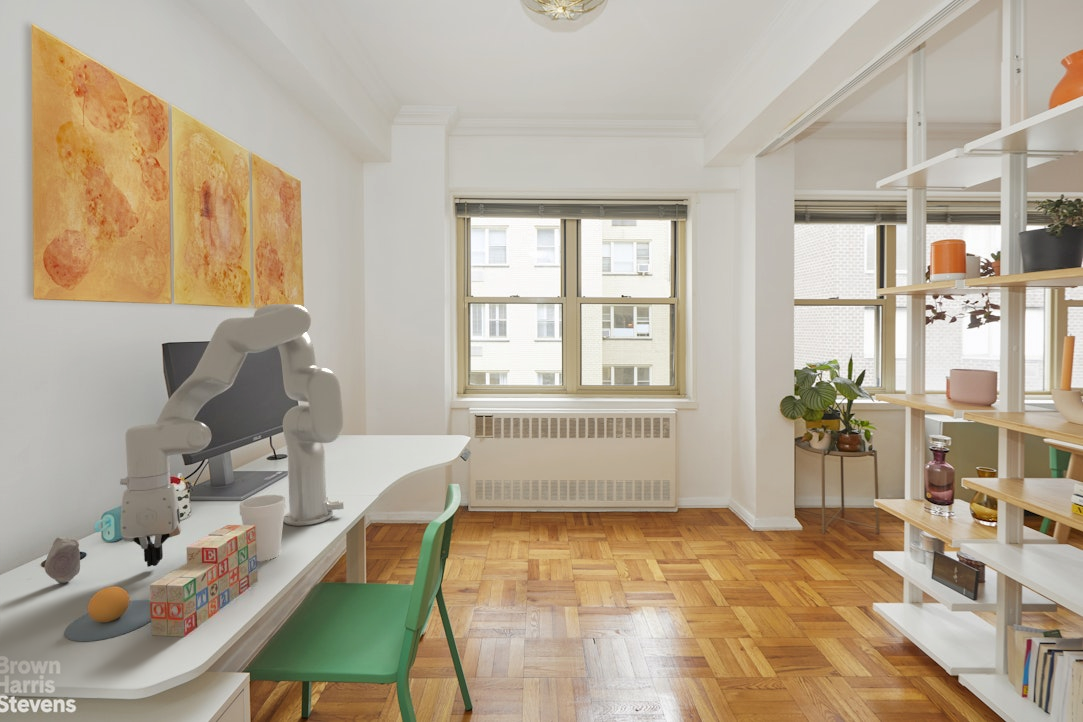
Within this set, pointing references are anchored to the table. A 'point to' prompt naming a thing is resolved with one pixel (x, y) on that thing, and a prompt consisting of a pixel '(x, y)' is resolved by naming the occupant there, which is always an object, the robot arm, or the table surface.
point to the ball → (108, 604)
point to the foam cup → (265, 523)
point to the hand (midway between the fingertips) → (153, 563)
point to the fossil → (63, 560)
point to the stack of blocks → (204, 580)
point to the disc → (110, 623)
